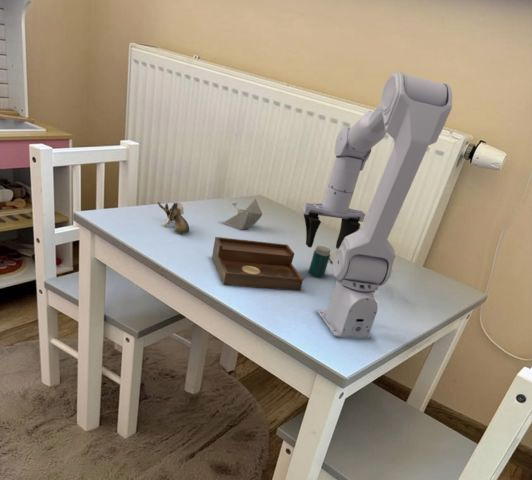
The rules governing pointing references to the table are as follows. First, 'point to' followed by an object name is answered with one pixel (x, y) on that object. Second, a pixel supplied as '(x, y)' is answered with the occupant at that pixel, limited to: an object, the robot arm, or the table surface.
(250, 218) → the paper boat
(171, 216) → the eagle figurine
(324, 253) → the cylinder
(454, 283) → the table surface
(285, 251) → the spice shelf
